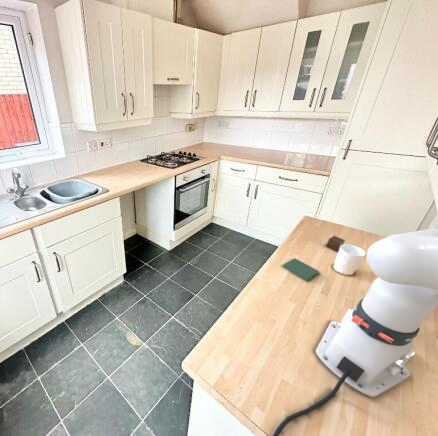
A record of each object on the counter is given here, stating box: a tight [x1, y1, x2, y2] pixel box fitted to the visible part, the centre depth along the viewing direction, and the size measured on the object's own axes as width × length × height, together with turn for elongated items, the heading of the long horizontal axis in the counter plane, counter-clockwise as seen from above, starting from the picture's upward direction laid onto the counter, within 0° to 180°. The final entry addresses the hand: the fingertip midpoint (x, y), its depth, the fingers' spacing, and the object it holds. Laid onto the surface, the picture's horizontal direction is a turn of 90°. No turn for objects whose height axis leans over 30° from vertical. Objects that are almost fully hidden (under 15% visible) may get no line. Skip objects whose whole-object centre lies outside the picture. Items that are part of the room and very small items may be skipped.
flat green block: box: [282, 258, 320, 282], centre depth 99 cm, size 8×10×1 cm
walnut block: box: [325, 235, 346, 252], centre depth 111 cm, size 4×4×4 cm
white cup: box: [333, 243, 367, 276], centre depth 97 cm, size 8×8×10 cm
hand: (393, 272), depth 85 cm, fingers closed
